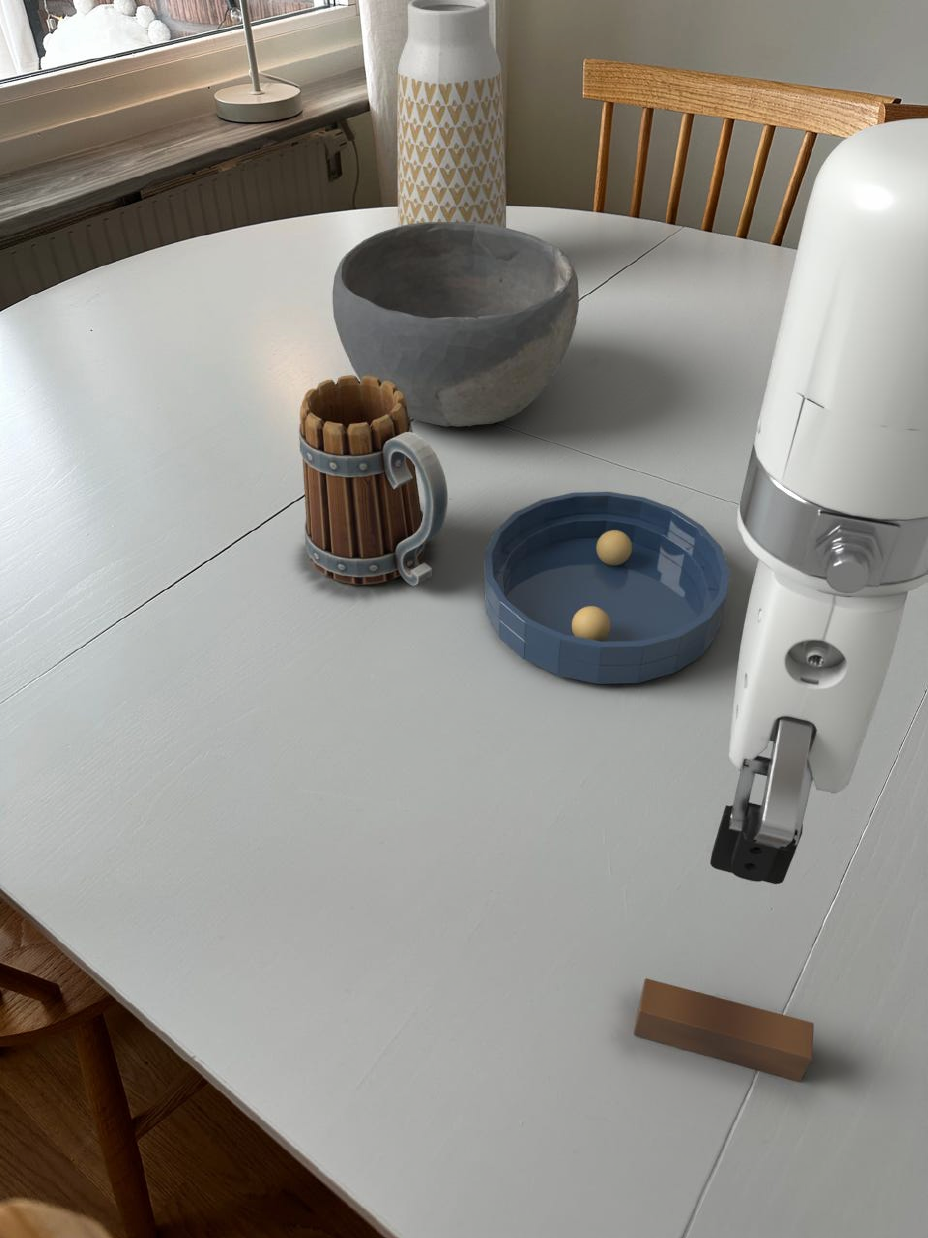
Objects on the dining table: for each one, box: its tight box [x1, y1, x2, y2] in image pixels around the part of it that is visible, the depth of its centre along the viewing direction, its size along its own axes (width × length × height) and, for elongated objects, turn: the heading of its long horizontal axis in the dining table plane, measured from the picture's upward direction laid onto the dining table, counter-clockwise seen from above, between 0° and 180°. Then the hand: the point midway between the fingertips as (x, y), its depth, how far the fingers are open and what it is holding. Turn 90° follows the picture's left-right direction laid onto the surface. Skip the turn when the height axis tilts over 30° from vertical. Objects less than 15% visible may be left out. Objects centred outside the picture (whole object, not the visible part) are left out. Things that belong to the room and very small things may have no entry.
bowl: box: [332, 222, 580, 428], centre depth 100 cm, size 24×24×15 cm
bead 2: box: [596, 530, 632, 566], centre depth 83 cm, size 3×3×3 cm
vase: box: [396, 0, 507, 228], centre depth 118 cm, size 14×14×31 cm
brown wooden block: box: [633, 978, 815, 1082], centre depth 53 cm, size 9×2×3 cm, turn 73°
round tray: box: [483, 491, 731, 685], centre depth 79 cm, size 19×19×4 cm
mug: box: [298, 374, 449, 586], centre depth 80 cm, size 16×11×15 cm
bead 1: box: [572, 606, 611, 642], centre depth 76 cm, size 3×3×3 cm
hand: (756, 787), depth 47 cm, fingers open, 9 cm apart
